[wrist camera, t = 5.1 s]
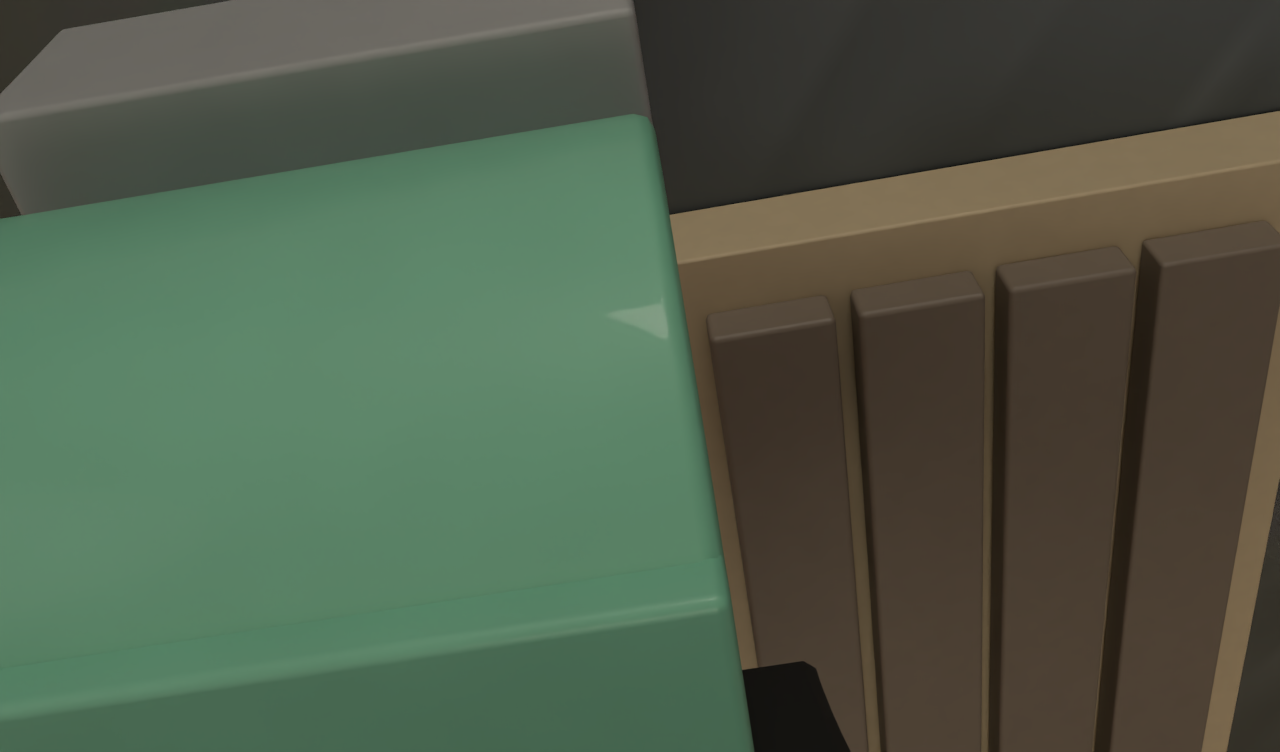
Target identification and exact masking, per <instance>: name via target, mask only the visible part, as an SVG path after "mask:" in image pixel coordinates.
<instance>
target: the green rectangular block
mask: <svg viewBox="0 0 1280 752" xmlns="http://www.w3.org/2000/svg"><path fill="white" fill-rule="evenodd" d="M0 173H1V175H2V177H3V179H4V181H5V183H6V185H7V187H8V189H9V191H10V193H11V195H12V197H13V199H14V201H15V203H16V205H17V207H18V209H19V211H20V213H21V215H22V216H16V217H10V218H4V219H0V752H754V745H753V739H752V732H751V725H750V719H749V712H748V706H747V699H746V693H745V686H744V679H743V673H742V666H741V660H740V653H739V646H738V640H737V633H736V627H735V620H734V614H733V607H732V601H731V595H730V588H729V582H728V576H727V570H726V564H725V558H724V552H723V546H722V539H721V533H720V527H719V520H718V514H717V508H716V501H715V495H714V489H713V482H712V476H711V470H710V464H709V457H708V451H707V445H706V438H705V432H704V426H703V419H702V413H701V407H700V401H699V394H698V388H697V382H696V376H695V369H694V363H693V357H692V351H691V345H690V338H689V332H688V326H687V320H686V313H685V307H684V301H683V295H682V289H681V283H680V276H679V270H678V264H677V258H676V252H675V246H674V240H673V233H672V227H671V221H670V215H669V209H668V203H667V197H666V191H665V185H664V179H663V173H662V167H661V161H660V155H659V150H658V144H657V138H656V133H655V129H654V127H653V123H652V116H651V110H650V103H649V97H648V90H647V84H646V78H645V71H644V65H643V58H642V52H641V45H640V39H639V32H638V26H637V20H636V13H635V7H634V1H633V0H232V1H226V2H220V3H214V4H209V5H203V6H197V7H191V8H185V9H179V10H174V11H168V12H162V13H156V14H150V15H145V16H139V17H133V18H127V19H121V20H116V21H110V22H104V23H98V24H92V25H87V26H81V27H75V28H69V29H63V30H62V31H61V32H59V33H58V34H57V35H56V36H55V37H54V38H53V39H52V41H51V42H50V43H49V44H48V45H47V46H46V47H45V48H44V49H43V50H42V51H41V52H40V53H39V54H38V55H37V56H36V57H35V58H34V59H33V60H32V61H31V63H30V64H29V65H28V66H27V67H26V68H25V69H24V70H23V71H22V72H21V73H20V74H19V75H18V76H17V77H16V78H15V79H14V80H13V81H12V82H11V83H10V85H9V86H8V87H7V88H6V89H5V90H4V91H3V92H2V93H1V94H0Z"/></svg>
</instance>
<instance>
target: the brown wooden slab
mask: <svg viewBox="0 0 1280 752" xmlns="http://www.w3.org/2000/svg"><path fill="white" fill-rule="evenodd" d="M670 221H671V227H672V233H673V240H674V246H675V252H676V258H677V264H678V270H679V276H680V283H681V289H682V295H683V301H684V307H685V313H686V320H687V326H688V332H689V338H690V345H691V351H692V357H693V363H694V369H695V376H696V382H697V388H698V394H699V401H700V407H701V413H702V419H703V426H704V432H705V438H706V445H707V451H708V457H709V464H710V470H711V476H712V482H713V489H714V495H715V501H716V508H717V514H718V520H719V527H720V533H721V539H722V546H723V552H724V558H725V564H726V570H727V576H728V582H729V588H730V595H731V601H732V607H733V614H734V620H735V627H736V633H737V640H738V646H739V653H740V660H741V666H742V670H745V669H752V668H759V667H766V666H772V665H779V664H786V663H792V662H799V661H804V662H806V663H808V664H810V665H811V666H813V667H815V668H816V670H817V673H818V676H819V679H820V682H821V685H822V687H823V690H824V693H825V695H826V698H827V700H828V703H829V705H830V708H831V710H832V712H833V715H834V717H835V719H836V721H837V724H838V726H839V728H840V730H841V733H842V735H843V737H844V739H845V741H846V743H847V745H848V747H849V749H850V751H851V752H1227V746H1228V741H1229V736H1230V731H1231V726H1232V721H1233V716H1234V710H1235V705H1236V700H1237V695H1238V690H1239V685H1240V680H1241V674H1242V669H1243V664H1244V659H1245V654H1246V649H1247V643H1248V638H1249V633H1250V628H1251V623H1252V618H1253V613H1254V607H1255V602H1256V597H1257V592H1258V587H1259V582H1260V577H1261V571H1262V566H1263V561H1264V556H1265V551H1266V546H1267V541H1268V535H1269V530H1270V525H1271V520H1272V515H1273V510H1274V504H1275V499H1276V494H1277V489H1278V484H1279V479H1280V111H1276V112H1270V113H1264V114H1258V115H1253V116H1247V117H1241V118H1235V119H1229V120H1223V121H1217V122H1212V123H1206V124H1200V125H1194V126H1188V127H1182V128H1176V129H1171V130H1165V131H1159V132H1153V133H1147V134H1141V135H1135V136H1129V137H1124V138H1118V139H1112V140H1106V141H1100V142H1094V143H1088V144H1083V145H1077V146H1071V147H1065V148H1059V149H1053V150H1047V151H1042V152H1036V153H1030V154H1024V155H1018V156H1012V157H1006V158H1000V159H995V160H989V161H983V162H977V163H971V164H965V165H959V166H954V167H948V168H942V169H936V170H930V171H924V172H918V173H913V174H907V175H901V176H895V177H889V178H883V179H877V180H872V181H866V182H860V183H854V184H848V185H842V186H836V187H830V188H825V189H819V190H813V191H807V192H801V193H795V194H789V195H784V196H778V197H772V198H766V199H760V200H754V201H748V202H743V203H737V204H731V205H725V206H719V207H713V208H707V209H701V210H696V211H690V212H684V213H678V214H672V215H670Z"/></svg>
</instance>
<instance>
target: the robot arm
mask: <svg viewBox="0 0 1280 752" xmlns="http://www.w3.org/2000/svg"><path fill="white" fill-rule="evenodd" d="M742 673H743V679H744V686H745V693H746V699H747V706H748V712H749V719H750V725H751V732H752V739H753V745H754V752H851V751H850V749H849V747H848V745H847V743H846V741H845V739H844V737H843V735H842V733H841V730H840V728H839V726H838V724H837V721H836V719H835V717H834V715H833V712H832V710H831V708H830V705H829V703H828V700H827V698H826V695H825V693H824V690H823V687H822V685H821V682H820V679H819V676H818V673H817V670H816V668H815V667H813V666H811V665H810V664H808V663H806V662H804V661H799V662H792V663H786V664H779V665H772V666H766V667H759V668H752V669H745V670H742Z"/></svg>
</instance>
